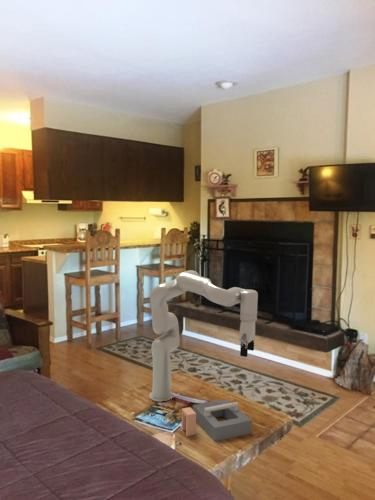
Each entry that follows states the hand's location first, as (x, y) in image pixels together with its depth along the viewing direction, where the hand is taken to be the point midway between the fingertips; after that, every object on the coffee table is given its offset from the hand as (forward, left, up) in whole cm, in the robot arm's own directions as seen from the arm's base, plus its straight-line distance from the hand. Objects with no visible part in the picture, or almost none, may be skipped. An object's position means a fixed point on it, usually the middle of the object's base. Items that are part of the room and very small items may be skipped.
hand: (247, 353), depth 197 cm
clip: (+3, -30, -31) cm, 43 cm away
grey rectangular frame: (+3, -14, -31) cm, 34 cm away
